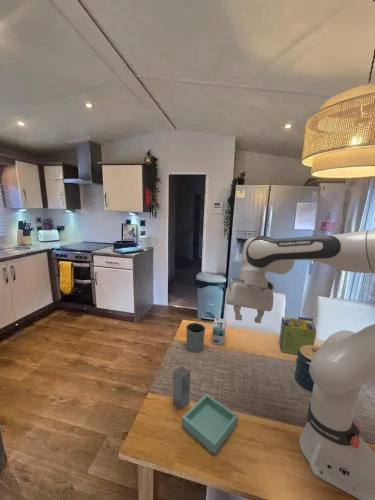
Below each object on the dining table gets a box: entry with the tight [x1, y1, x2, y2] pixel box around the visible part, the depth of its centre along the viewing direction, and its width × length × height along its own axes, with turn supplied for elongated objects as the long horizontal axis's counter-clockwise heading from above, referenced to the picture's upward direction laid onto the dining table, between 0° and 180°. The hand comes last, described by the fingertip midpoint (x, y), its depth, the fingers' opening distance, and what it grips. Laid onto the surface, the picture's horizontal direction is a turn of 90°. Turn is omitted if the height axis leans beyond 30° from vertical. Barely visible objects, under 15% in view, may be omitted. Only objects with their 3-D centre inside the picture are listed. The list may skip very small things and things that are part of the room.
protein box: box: [278, 316, 317, 356], centre depth 126 cm, size 10×15×16 cm
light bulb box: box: [211, 317, 227, 346], centre depth 134 cm, size 11×7×11 cm, turn 168°
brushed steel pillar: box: [172, 365, 191, 410], centre depth 91 cm, size 5×5×14 cm
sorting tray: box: [181, 393, 239, 456], centre depth 82 cm, size 14×14×4 cm
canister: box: [294, 344, 320, 392], centre depth 103 cm, size 13×13×18 cm
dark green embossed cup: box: [185, 322, 206, 353], centre depth 126 cm, size 10×10×12 cm
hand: (248, 321), depth 81 cm, fingers open, 8 cm apart
